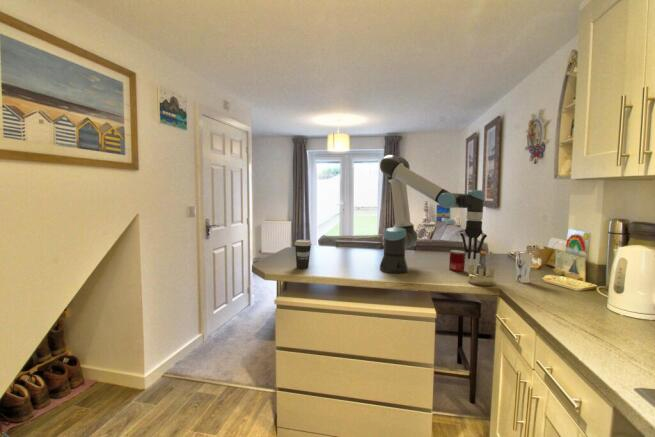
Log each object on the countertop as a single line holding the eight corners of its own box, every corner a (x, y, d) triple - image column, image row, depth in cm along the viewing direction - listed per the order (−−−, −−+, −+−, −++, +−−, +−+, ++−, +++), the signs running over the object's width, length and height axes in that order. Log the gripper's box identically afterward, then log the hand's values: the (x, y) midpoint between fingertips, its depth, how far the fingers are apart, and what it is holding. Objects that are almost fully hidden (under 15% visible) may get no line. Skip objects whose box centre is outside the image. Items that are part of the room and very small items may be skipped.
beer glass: (530, 284, 160) (532, 254, 159) (513, 281, 164) (516, 252, 162) (530, 281, 166) (532, 252, 165) (514, 279, 170) (516, 250, 168)
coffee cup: (290, 268, 178) (291, 241, 176) (298, 264, 186) (299, 239, 185) (306, 270, 174) (307, 242, 173) (313, 266, 183) (314, 240, 182)
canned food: (465, 272, 181) (466, 252, 180) (450, 271, 182) (451, 251, 182) (462, 269, 188) (463, 250, 188) (448, 268, 190) (449, 249, 189)
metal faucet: (493, 287, 151) (495, 258, 150) (467, 283, 156) (469, 255, 155) (493, 278, 167) (495, 252, 166) (470, 275, 172) (471, 250, 171)
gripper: (461, 219, 166) (458, 265, 168) (489, 221, 162) (485, 268, 164) (460, 218, 173) (457, 262, 175) (487, 220, 169) (483, 265, 171)
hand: (471, 265), depth 169 cm, fingers closed
